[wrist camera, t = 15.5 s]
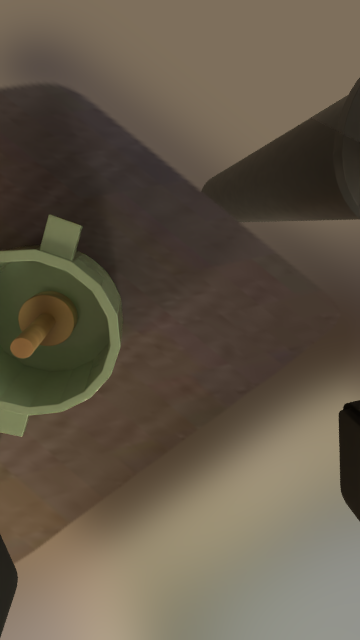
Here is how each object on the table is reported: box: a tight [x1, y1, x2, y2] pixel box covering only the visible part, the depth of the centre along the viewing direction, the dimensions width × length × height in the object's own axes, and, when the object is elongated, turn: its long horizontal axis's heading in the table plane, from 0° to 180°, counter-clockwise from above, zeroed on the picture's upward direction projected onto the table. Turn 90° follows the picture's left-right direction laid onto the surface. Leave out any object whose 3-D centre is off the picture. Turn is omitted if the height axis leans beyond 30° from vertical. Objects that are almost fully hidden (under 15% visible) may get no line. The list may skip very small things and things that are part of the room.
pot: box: [0, 214, 123, 437], centre depth 29 cm, size 14×19×8 cm
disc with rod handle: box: [10, 291, 78, 358], centre depth 28 cm, size 5×5×9 cm
